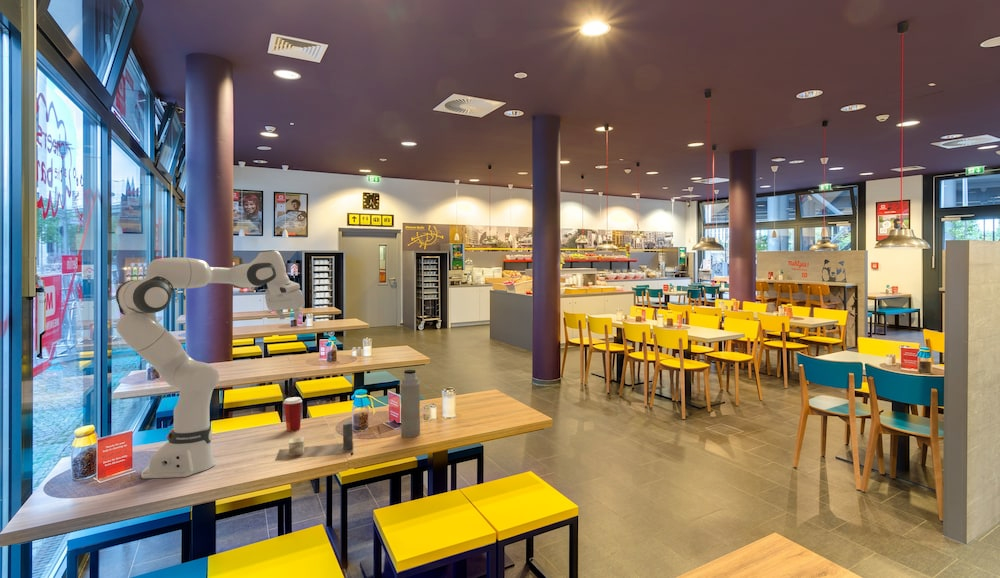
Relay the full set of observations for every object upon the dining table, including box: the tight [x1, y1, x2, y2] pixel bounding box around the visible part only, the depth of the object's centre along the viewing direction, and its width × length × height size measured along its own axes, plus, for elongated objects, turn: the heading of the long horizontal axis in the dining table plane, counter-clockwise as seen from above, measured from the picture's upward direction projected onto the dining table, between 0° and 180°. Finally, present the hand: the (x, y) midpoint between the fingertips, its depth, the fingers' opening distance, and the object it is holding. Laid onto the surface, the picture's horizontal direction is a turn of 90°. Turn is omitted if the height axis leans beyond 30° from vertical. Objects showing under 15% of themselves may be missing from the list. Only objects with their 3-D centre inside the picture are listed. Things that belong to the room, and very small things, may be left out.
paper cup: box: [283, 396, 303, 432], centre depth 224 cm, size 8×8×14 cm
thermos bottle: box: [400, 369, 421, 438], centre depth 217 cm, size 8×8×28 cm
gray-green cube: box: [288, 437, 305, 456], centre depth 193 cm, size 5×5×5 cm
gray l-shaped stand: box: [274, 421, 354, 461], centre depth 195 cm, size 28×12×11 cm, turn 106°
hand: (289, 318), depth 212 cm, fingers open, 8 cm apart
